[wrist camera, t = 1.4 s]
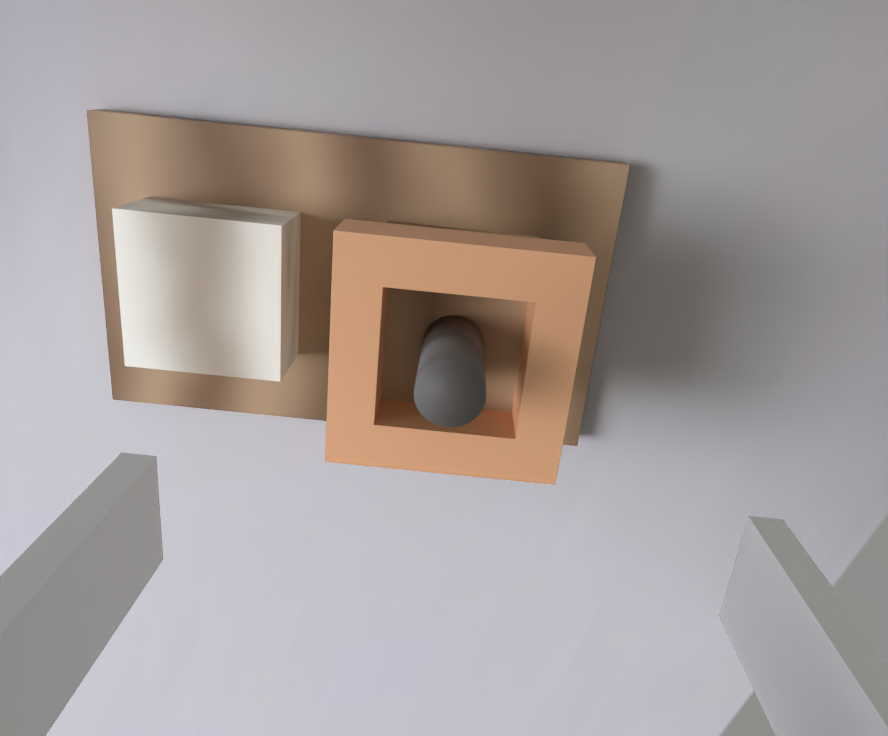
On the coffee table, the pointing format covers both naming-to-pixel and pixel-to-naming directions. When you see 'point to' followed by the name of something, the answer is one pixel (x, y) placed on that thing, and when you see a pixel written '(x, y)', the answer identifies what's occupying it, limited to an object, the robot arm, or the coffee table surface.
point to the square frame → (463, 273)
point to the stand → (318, 261)
